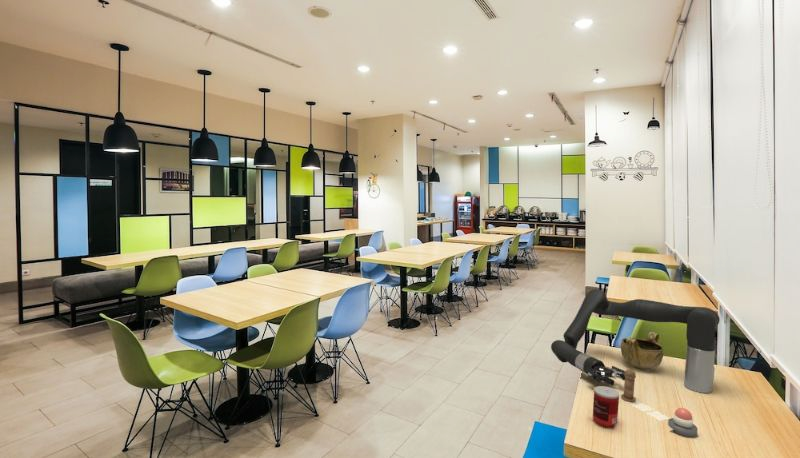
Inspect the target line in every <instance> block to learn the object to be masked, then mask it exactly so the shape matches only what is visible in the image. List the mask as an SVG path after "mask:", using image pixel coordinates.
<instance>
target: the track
mask: <svg viewBox="0 0 800 458" xmlns="http://www.w3.org/2000/svg"><path fill="white" fill-rule="evenodd" d="M619 400H621V401H623V402H625V403H627V404H630V405H631V406H632V407H634V408H636V409H637V410H639V411H641V412H643V413H645V412H646V413H645V414H647V415H648V416H650V417H652V418H653V419H656V421H659V422H661V421H665V420H669V419H671V417H669V416H667V415H665V414H664V413H661V412H660V411H658V410H655V409H654V408H652V407H650V406H649V405H646V404H645V403H643V402H640V401H639V400H637V399H636V402H634V403H630V402H626V401H624V400H622V399H621V395H619Z"/></svg>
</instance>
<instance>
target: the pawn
mask: <svg viewBox="0 0 800 458" xmlns="http://www.w3.org/2000/svg"><path fill="white" fill-rule="evenodd" d="M624 371H625V373H624V375H625V381H624V384H623V385H624V387H623V388H624V389H623V393H622V394H621V395H620V396H621V399H622V400H621V399H620V400H621V401H623V400H624V401H623V402H625V401H626V402H625V403H627V402H630V403H631V404H635V403H634V402H636V400H637V398H636V397H635V396H634V395H635V394H634V393H635V382H636V381H635V379H636V377H637V375H636V372H635V371H634V370H632V369H626V370H624ZM636 403H637V402H636Z"/></svg>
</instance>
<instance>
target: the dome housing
mask: <svg viewBox="0 0 800 458" xmlns="http://www.w3.org/2000/svg"><path fill="white" fill-rule="evenodd" d="M673 420H674V417H673V418H672V417H670V419H667V425H668V427H669V428H670V432H672V433H674V434H675V435H678V436H681V437H684V438H690V439H691V438H695V437H696V438H697V436H698V427H697V426H696V425H695V424H694V423H693V425H692V427H691V428H686V427H682V426H679V425H677V424H676V423H674V421H673ZM671 429H672V430H671Z"/></svg>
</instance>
